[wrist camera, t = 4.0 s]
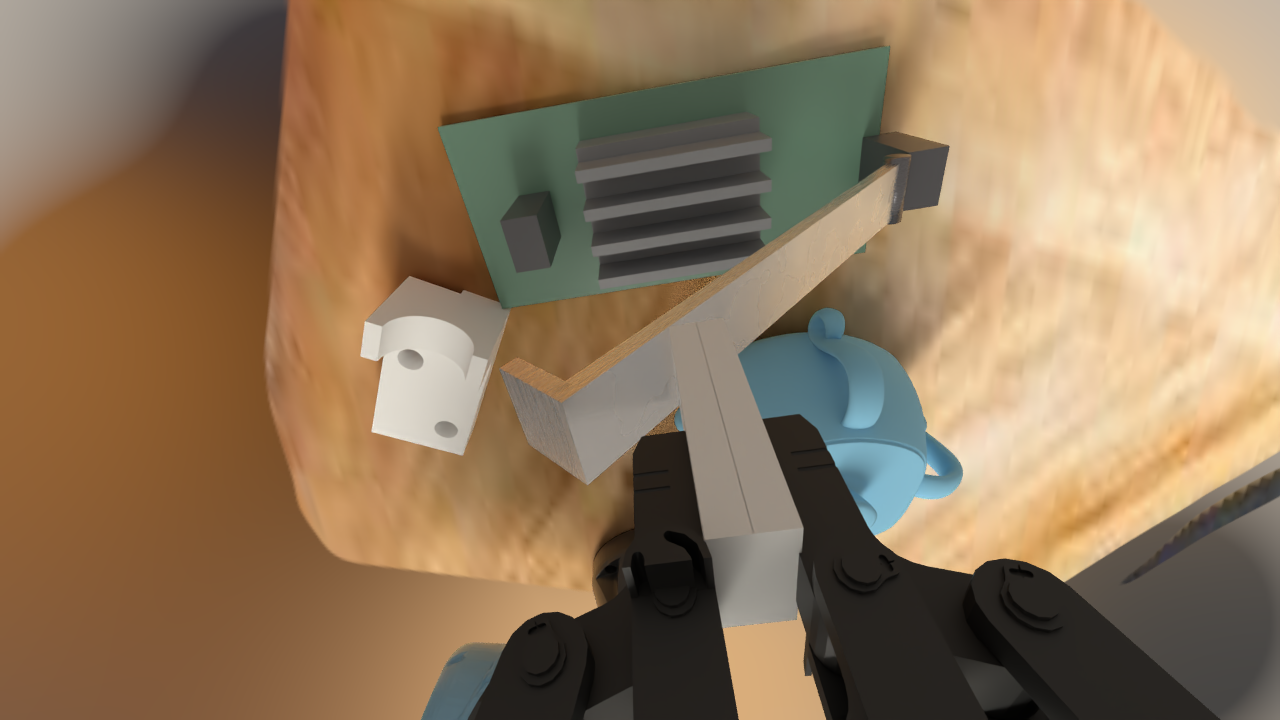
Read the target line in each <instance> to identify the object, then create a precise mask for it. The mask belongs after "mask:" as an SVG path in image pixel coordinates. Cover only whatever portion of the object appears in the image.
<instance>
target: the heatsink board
mask: <svg viewBox="0 0 1280 720" xmlns="http://www.w3.org/2000/svg"><path fill="white" fill-rule="evenodd" d="M889 52H890V46H882V47H876V48H870V49H865V50H859V51H854V52H848V53H843V54H837V55H832V56H826V57H821V58H815V59H809V60H804V61H798V62H793V63H787V64H782V65H776V66H771V67H765V68H759V69H754V70H748V71H743V72H737V73H732V74H726V75H721V76H715V77H709V78H704V79H698V80H693V81H687V82H682V83H676V84H671V85H665V86H660V87H654V88H648V89H643V90H637V91H632V92H626V93H621V94H615V95H610V96H604V97H598V98H593V99H587V100H582V101H576V102H571V103H565V104H560V105H554V106H548V107H543V108H537V109H532V110H526V111H521V112H515V113H510V114H504V115H499V116H493V117H487V118H482V119H476V120H471V121H465V122H460V123H454V124H449V125H443V126H440V127H437V128H438V130H439V133H440V136H441V139H442V142H443V144H444V147H445V150H446V153H447V156H448V158H449V161H450V164H451V167H452V170H453V172H454V175H455V178H456V181H457V184H458V186H459V189H460V192H461V195H462V198H463V200H464V203H465V206H466V209H467V212H468V214H469V217H470V220H471V223H472V226H473V228H474V231H475V234H476V237H477V240H478V242H479V245H480V248H481V251H482V254H483V256H484V259H485V262H486V265H487V268H488V270H489V273H490V276H491V279H492V282H493V284H494V287H495V290H496V293H497V296H498V298H499V301H500V304H501V307H502V309H506V308H512V307H518V306H525V305H531V304H538V303H544V302H550V301H557V300H563V299H569V298H576V297H582V296H589V295H595V294H601V293H608V292H614V291H621V290H627V289H633V288H640V287H646V286H653V285H659V284H665V283H672V282H678V281H684V280H691V279H697V278H704V277H710V276H716V275H723V274H724V273H726V272H727V271H729V270H730V269H731V268H733V267H734V266H736V265H737V264H739V263H740V262H742V261H743V260H745V259H746V258H748V257H749V256H751V255H752V254H754V253H755V252H757V251H758V250H760V249H761V248H763V247H764V246H765V245H767V244H768V243H770V242H771V241H773V240H774V239H776V238H777V237H779V236H780V235H782V234H783V233H785V232H786V231H788V230H789V229H791V228H792V227H794V226H795V225H797V224H798V223H799V222H801V221H802V220H804V219H805V218H807V217H808V216H810V215H811V214H813V213H814V212H816V211H817V210H819V209H820V208H822V207H823V206H825V205H826V204H828V203H829V202H830V201H832V200H833V199H835V198H836V197H838V196H839V195H841V194H842V193H844V192H845V191H847V190H848V189H850V188H851V187H853V186H854V185H856V184H857V183H859V182H860V181H862V180H863V179H864V178H866V177H867V176H869V175H870V174H872V173H873V172H875V171H876V170H878V169H879V168H881V167H882V166H883V161H884V157H885V156H887V155H892V154H910V155H911V162H910V168H909V175H908V181H907V187H906V193H905V200H904V206H903V211H906V210H912V209H919V208H925V207H931V206H937V205H938V201H939V196H940V191H941V186H942V181H943V176H944V171H945V166H946V161H947V156H948V151H949V146H948V145H944V144H940V143H937V142H933V141H929V140H925V139H922V138H918V137H914V136H910V135H907V134H903V133H899V132H892V133H886V134H880V126H881V118H882V110H883V101H884V93H885V85H886V77H887V68H888V60H889ZM879 134H880V135H879ZM865 249H866V243H865V244H864V245H863V246H861V247H860V248H859V249H858V250H857V251H856V252H855V253H853V254H857V253H863V252H865Z"/></svg>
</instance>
